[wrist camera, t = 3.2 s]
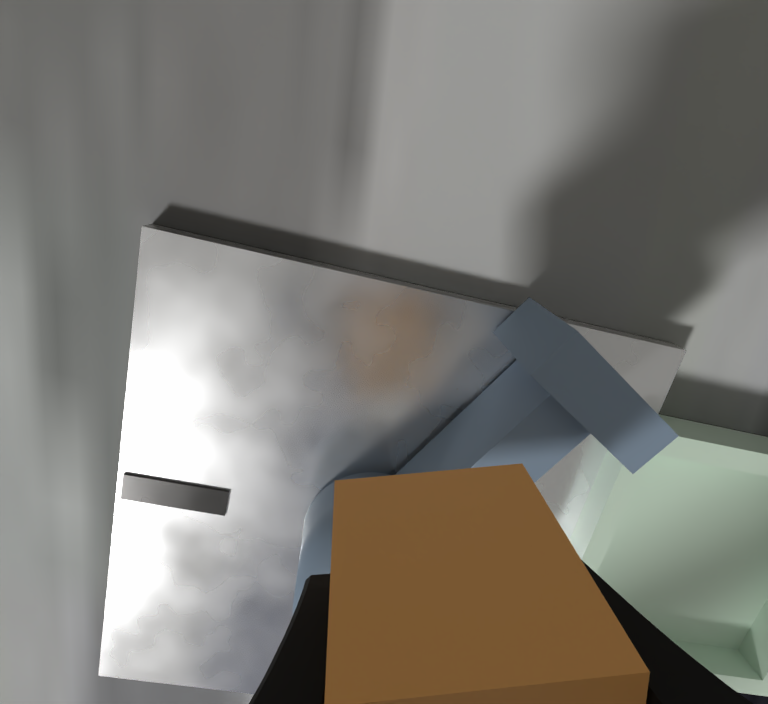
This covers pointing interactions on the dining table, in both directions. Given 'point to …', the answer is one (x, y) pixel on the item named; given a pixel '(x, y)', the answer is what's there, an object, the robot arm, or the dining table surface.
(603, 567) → the tray
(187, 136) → the dining table surface
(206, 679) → the plate
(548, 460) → the crank
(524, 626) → the block
